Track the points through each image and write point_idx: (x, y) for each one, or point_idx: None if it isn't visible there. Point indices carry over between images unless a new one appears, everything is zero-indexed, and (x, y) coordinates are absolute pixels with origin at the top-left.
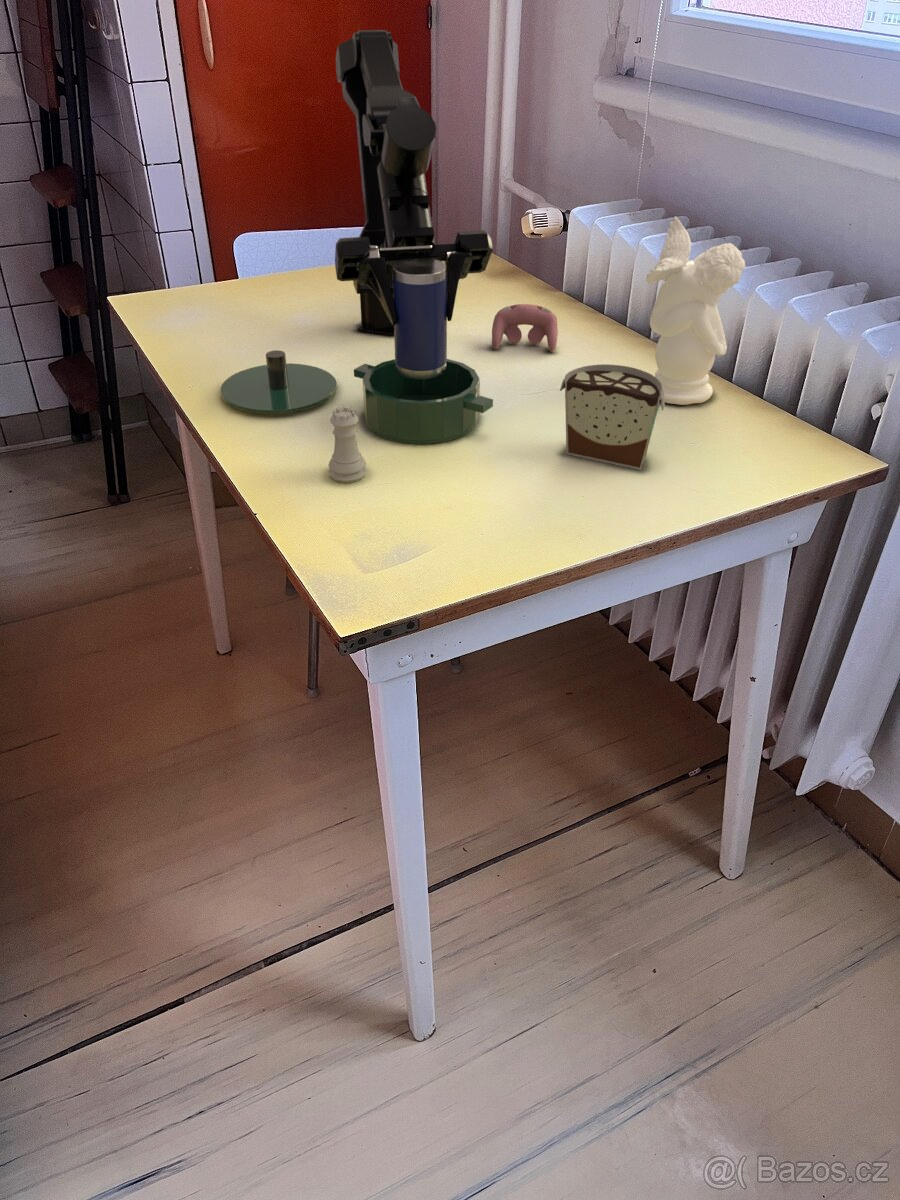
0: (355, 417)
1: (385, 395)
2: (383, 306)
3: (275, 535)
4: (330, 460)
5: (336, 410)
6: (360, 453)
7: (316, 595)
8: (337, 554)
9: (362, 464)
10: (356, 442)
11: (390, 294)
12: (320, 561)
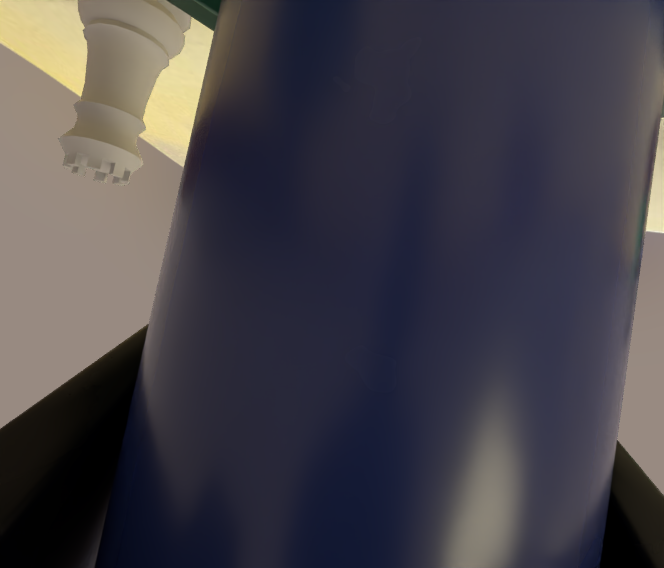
0: (134, 171)
1: (203, 10)
2: (27, 428)
3: (64, 83)
4: (83, 24)
5: (69, 159)
6: (163, 53)
7: (168, 155)
8: (178, 131)
9: (177, 54)
10: (148, 96)
11: (92, 546)
12: (157, 131)
